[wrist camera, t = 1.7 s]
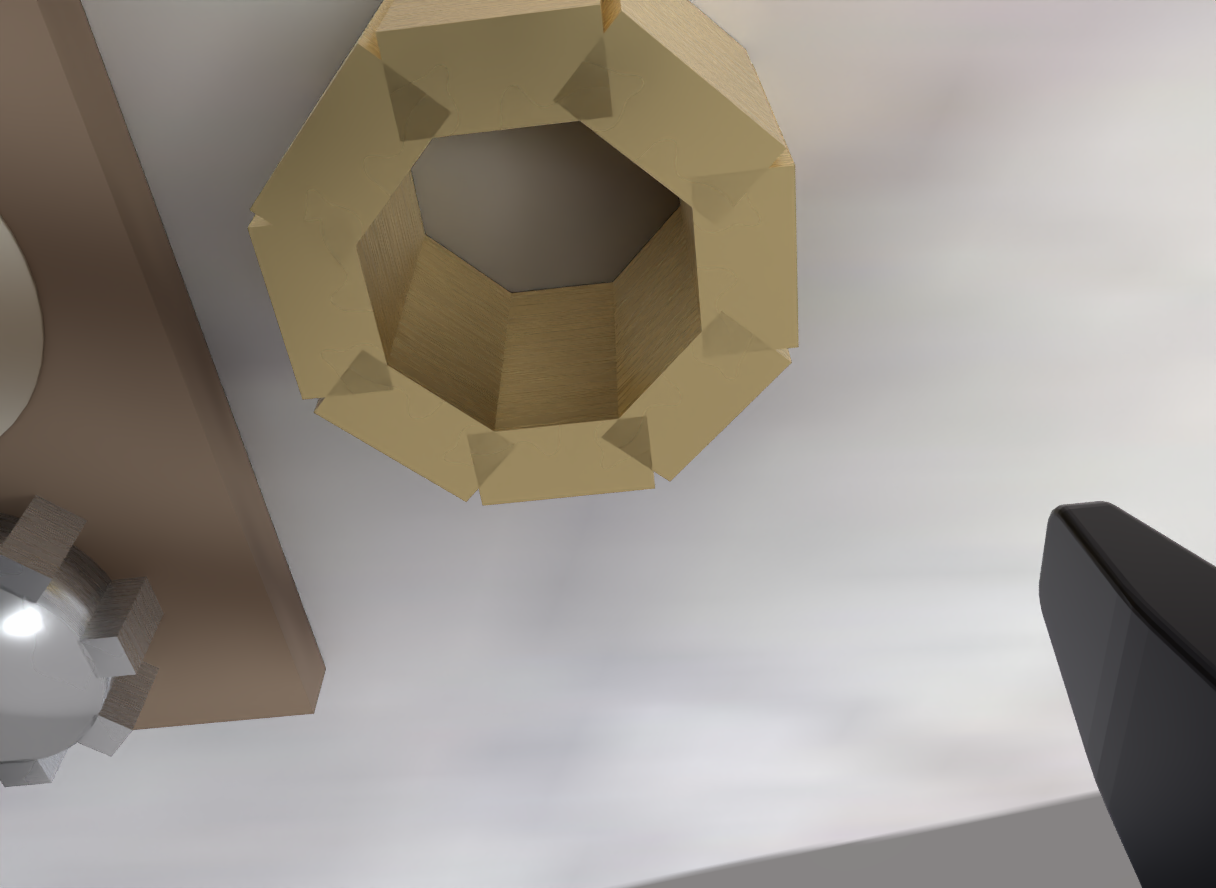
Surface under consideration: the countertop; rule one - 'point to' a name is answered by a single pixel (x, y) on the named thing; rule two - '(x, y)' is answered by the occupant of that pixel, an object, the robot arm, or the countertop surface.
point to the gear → (66, 646)
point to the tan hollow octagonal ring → (543, 319)
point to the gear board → (129, 391)
